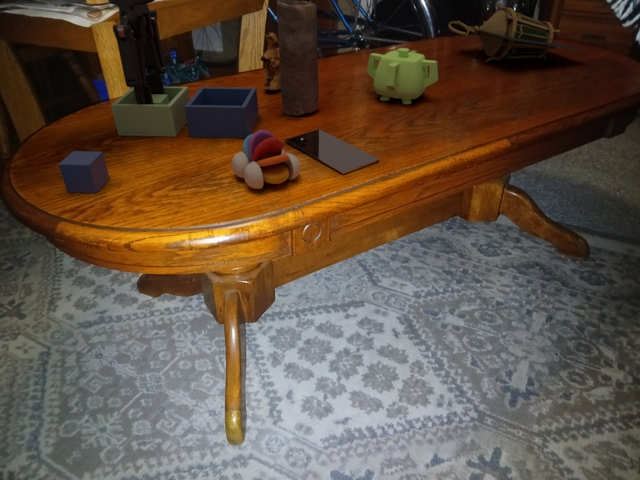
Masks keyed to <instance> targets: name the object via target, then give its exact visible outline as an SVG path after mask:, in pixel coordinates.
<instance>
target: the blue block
mask: <svg viewBox="0 0 640 480" xmlns="http://www.w3.org/2000/svg"><path fill="white" fill-rule="evenodd" d="M58 168H59V170H60V174H61V177H62V180H63V183H64V185H65V186H64V187H65V190H66V192H67V193H79V194H98V193H99V192H100V191H101V189H103V187H104V186H105V185H106V184H107V183H108V181H110V179H111V178H110V175H109V171H108V166H107V163H106V159H105V155H104V152H103V151H85V150H84V151H83V150H82V151H81V150H73V151H72V152H71V153H69V155H67V156H66V157H65V158H64V159H63V160H61V161H60V162H59V163H58Z"/></svg>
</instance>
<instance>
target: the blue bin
mask: <svg viewBox="0 0 640 480" xmlns="http://www.w3.org/2000/svg"><path fill="white" fill-rule="evenodd" d="M184 107H185V113H186V119H187V123H186V125H187V130H188V131H187V132H188V136H189V138H211V139H212V138H215V139H216V138H217V139H246V138H247V137H248V136H249V135H251V134H252V132H253V130H254V127H255V125H256V123H257V121H258V119H259V117H260V115H259V101H258V90H257V87H225V86H224V87H223V86H222V87H221V86H219V87H218V86H201V87H200V88H199V89H198V90H197V91H196V92H195V94H194V95H193V96H192V97H190V101H189V102H188V103H187V104H186V105H185V106H184Z"/></svg>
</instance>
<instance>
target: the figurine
mask: <svg viewBox="0 0 640 480" xmlns="http://www.w3.org/2000/svg"><path fill="white" fill-rule="evenodd" d="M265 41H266V43H267V49H266V51H264V52H263V54H261V56H260V59H259V60H260V61H261V62H263V63H264V64H263V65H264V77H265V78H264V85H263V87H262V88H263V90H264V91H265V92H266V91H267V92H277V91H281V81H280V57H279V46H278V47H277V45H278V44H279V40H278V36H277V35H276V33H274V32H267V33H266V34H265Z"/></svg>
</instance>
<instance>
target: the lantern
mask: <svg viewBox="0 0 640 480" xmlns="http://www.w3.org/2000/svg"><path fill="white" fill-rule="evenodd" d="M495 5H496V8H498V10H496V11H495V13H494V14H493V15H491V16H490V17H489V19H487V20H486V21H483V22H482V23H483V24H482V25H480V26H478V25H475V26H474V25H469V24H465V23H463V22H461V21H460V20H457V21H456V20H452V21H450V22H449V23H448V28H449V30H450V31H451V32H453V33H454V34H458V35H460V36H464V37H468V35H469V33H472V34H473V36H478V38H479V39H480V42H481V44H482V47H480V48H478V51H484V52H485V55H487V56H488V57H489V58H487V59H486V60H485V62H486V63H487V62H489V61H491V60H493V61H496V62H497V61H502V60H506V59H524V58H525V59H526V58H527V59H528V58H534V59H538V60H539V59H544V60H547V56H546V54H547V53H548V51H550V50H551V49H552V50H557V47H558V48H562V49H563V48H564V49H571V50H577V51H585V52H587V50H586V49H582V48H579V47H575V46H571V45H567V44H564V43H560V42H556V41H553V39H554V34H557V33H559V32H561V30H560V29H555V28H554V27H553V26H554V23H551V22H549V21H540V20H537V19H535V18H533V17H530V16H527V15H525V14H521V13H519V12H516V11H515V9H514V8H512V7H507V6H505V7H503V6H501V5H500V4H499V3H498V2H496V3H495ZM452 25H458V26H460V27H463V29H465V30H466V32H465V31H461V30H458V29H455V28H454V27H453V26H452Z"/></svg>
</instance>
